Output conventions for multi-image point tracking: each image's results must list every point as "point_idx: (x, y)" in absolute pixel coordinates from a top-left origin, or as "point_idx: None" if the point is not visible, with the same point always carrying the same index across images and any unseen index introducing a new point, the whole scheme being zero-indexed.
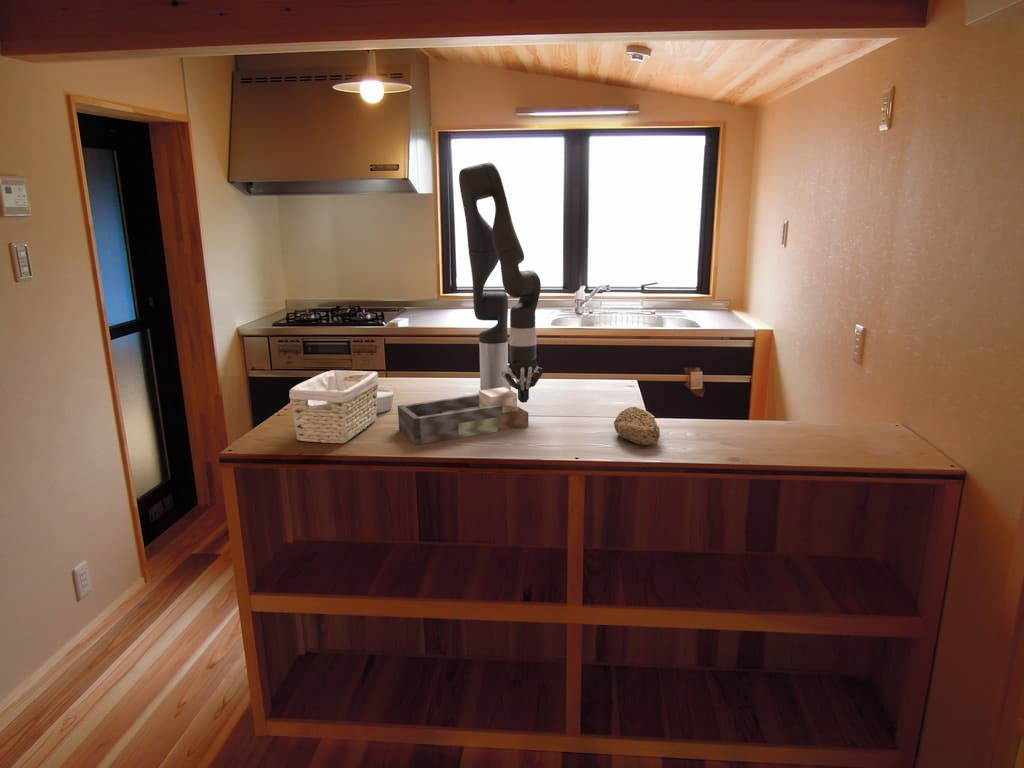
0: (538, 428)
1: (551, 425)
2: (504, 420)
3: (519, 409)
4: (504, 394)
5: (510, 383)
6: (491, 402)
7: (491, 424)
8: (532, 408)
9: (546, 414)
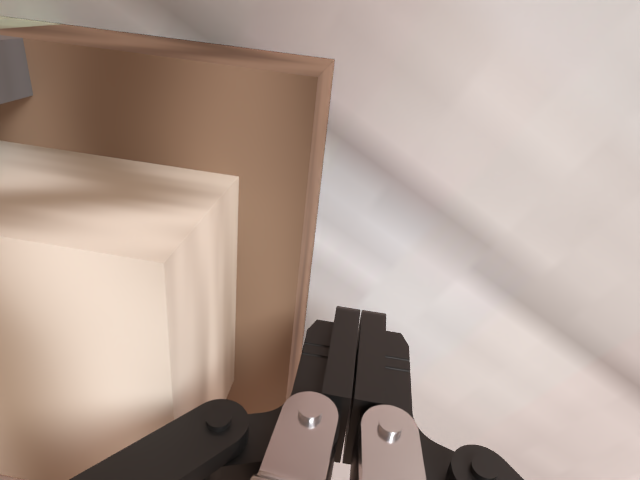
0: None
1: None
2: None
3: (265, 370)
4: (54, 471)
5: (152, 459)
6: None
7: None
8: (634, 70)
9: (569, 276)
